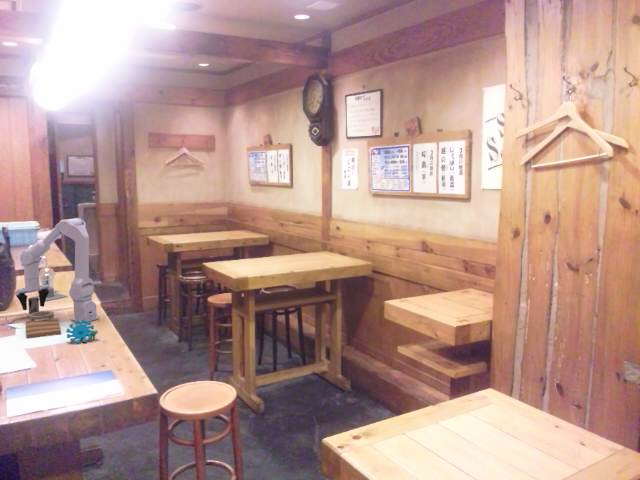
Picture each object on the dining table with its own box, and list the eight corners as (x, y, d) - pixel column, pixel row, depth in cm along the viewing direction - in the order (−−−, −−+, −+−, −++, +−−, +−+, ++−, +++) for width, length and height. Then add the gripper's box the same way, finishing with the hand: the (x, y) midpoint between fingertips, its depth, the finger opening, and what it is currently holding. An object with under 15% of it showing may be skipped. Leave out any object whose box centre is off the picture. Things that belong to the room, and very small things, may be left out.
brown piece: (60, 333, 213) (60, 326, 213) (26, 338, 207) (26, 330, 207) (56, 316, 238) (56, 309, 238) (25, 319, 232) (25, 313, 232)
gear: (63, 341, 200) (69, 317, 206) (64, 348, 204) (70, 325, 210) (94, 343, 202) (100, 320, 208) (95, 350, 207) (100, 327, 213)
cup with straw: (50, 295, 277) (47, 257, 274) (34, 294, 278) (31, 256, 275) (60, 291, 285) (58, 254, 282) (44, 290, 286) (42, 253, 284)
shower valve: (51, 283, 281) (67, 287, 273) (51, 293, 282) (68, 297, 274) (27, 287, 271) (43, 291, 263) (28, 298, 272) (44, 302, 263)
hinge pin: (41, 315, 239) (40, 298, 238) (32, 317, 236) (31, 299, 235) (36, 314, 241) (35, 296, 240) (27, 316, 238) (26, 298, 237)
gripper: (43, 274, 244) (45, 303, 246) (10, 279, 232) (12, 309, 234) (51, 276, 240) (53, 305, 242) (18, 281, 229) (20, 312, 230)
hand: (33, 308), depth 238 cm, fingers open, 7 cm apart
